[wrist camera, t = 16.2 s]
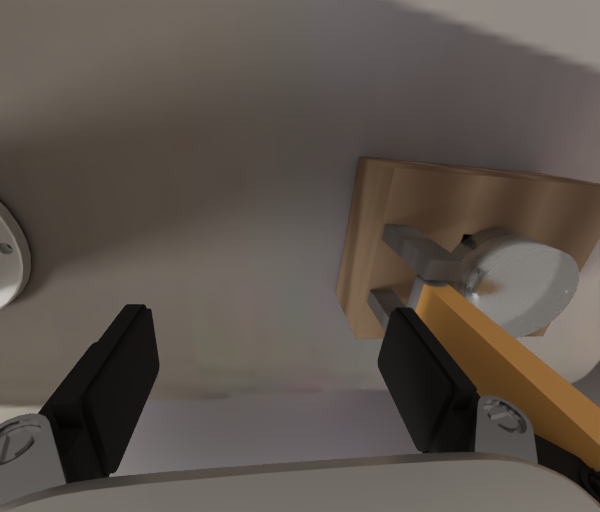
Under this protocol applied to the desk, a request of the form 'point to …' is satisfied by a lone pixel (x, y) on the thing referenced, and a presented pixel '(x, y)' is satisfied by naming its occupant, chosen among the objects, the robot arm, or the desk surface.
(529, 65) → the desk surface
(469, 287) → the silver rounded cylinder
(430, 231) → the hitch block
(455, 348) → the bar
